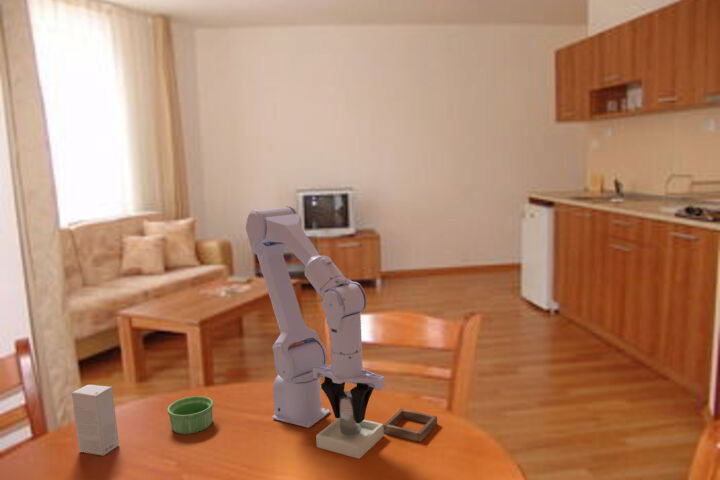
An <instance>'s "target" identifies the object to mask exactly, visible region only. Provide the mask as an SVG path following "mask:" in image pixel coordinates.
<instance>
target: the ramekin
mask: <svg viewBox="0 0 720 480" xmlns="http://www.w3.org/2000/svg"><path fill="white" fill-rule="evenodd" d="M213 406H214V401H213V399H212V398H210V397H208V396H204V395H203V396H202V395H197V396H195V395H193V396H187V397H183V398H180V399H178V400H175V401H173V402H172V403H171V404H169V405H168V407H167V414H168V415H169V422H170V425H171V429H172V431H174V432H175V433H177V434H182V435H191V434H195V433H199V431H200V432H202V431H204V430H206V429H208V428H209V427H210V426H211V425H212V423H213Z"/></svg>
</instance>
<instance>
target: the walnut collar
mask: <svg viewBox="0 0 720 480" xmlns="http://www.w3.org/2000/svg"><path fill="white" fill-rule="evenodd" d="M403 419H406V420H410V421H414V422H419V423H424V426H423V427H421V429H420V430H419V431H417V430H413V429H409V428H406V427H400V426H396V425H398V423H400V422H401V420H403ZM437 425H438V416H436V415H431V414H428V413H423V412H418V411H414V410H409V409H404V408H400V409H399V410H398V411H397V412H396V413H395V414H394V415H392V416H391V417H390V418H389V420H387V421H386V422H385V423H383V431H384V434H386V435H389V436H395V437H399V438H403V439H406V440H410V441H415V442H419V443H421V442H423V440H424V439H425V438H426V437H427V436H428V435H429V434H430V433H431V432H432V431H433V430H434V428H435V427H436V426H437Z"/></svg>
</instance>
